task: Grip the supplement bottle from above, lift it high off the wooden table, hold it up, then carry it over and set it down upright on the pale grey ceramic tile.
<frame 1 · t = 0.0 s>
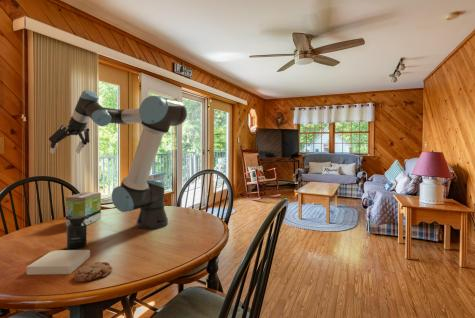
hand: (65, 152, 143), 36 cm above the table, tool tilted 35°, fingers open, 13 cm apart
ceramic tile: (60, 264, 91), on the table
tea box: (84, 222, 140), on the table
supplement bottle: (77, 247, 107), on the table
cookie: (93, 275, 85), on the table
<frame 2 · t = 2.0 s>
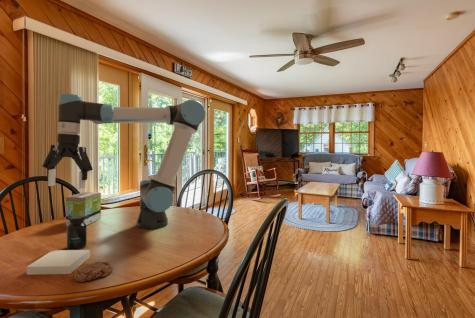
hand: (66, 187, 107), 24 cm above the table, tool pointing down, fingers open, 13 cm apart
nothing on the table moved.
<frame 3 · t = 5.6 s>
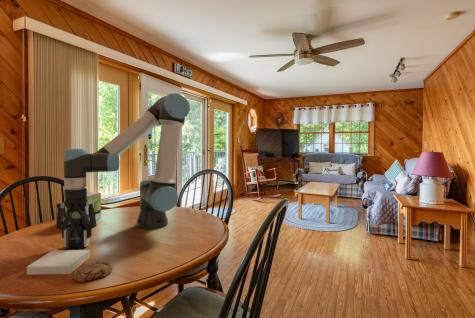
hand: (77, 245, 107), 1 cm above the table, tool pointing down, fingers closed on supplement bottle, 7 cm apart
supplement bottle: (77, 247, 107), on the table, touching gripper
everything else where it was.
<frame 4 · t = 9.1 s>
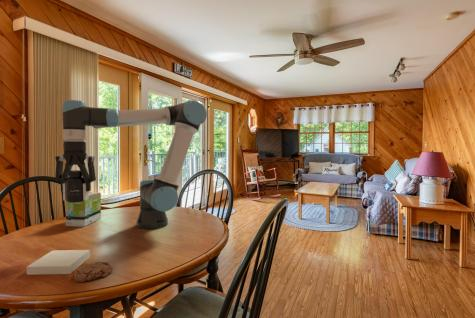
hand: (76, 199, 106), 19 cm above the table, tool pointing down, fingers closed on supplement bottle, 7 cm apart
supplement bottle: (76, 201, 106), point 18 cm above the table, touching gripper
everything else where it was.
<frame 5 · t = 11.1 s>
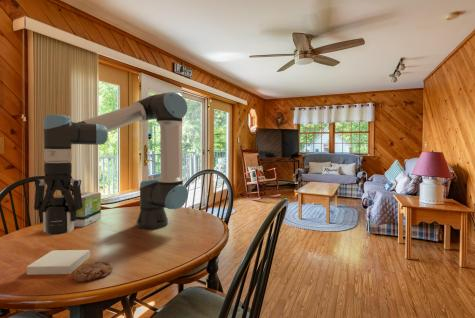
hand: (58, 230, 90), 12 cm above the table, tool pointing down, fingers closed on supplement bottle, 7 cm apart
supplement bottle: (59, 232, 90), point 11 cm above the table, touching gripper
everything else where it was.
when the fingers open (4 cm above the table, at t = 12.9 s): supplement bottle drops 1 cm, resting on ceramic tile.
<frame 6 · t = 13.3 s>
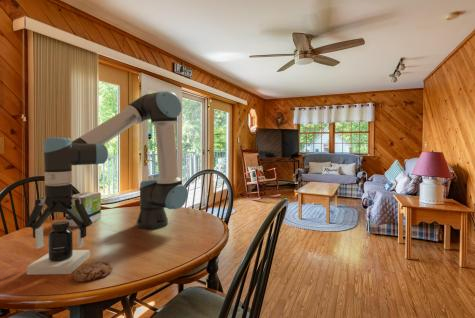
hand: (60, 247, 90), 6 cm above the table, tool pointing down, fingers open, 13 cm apart
supplement bottle: (61, 258, 91), point 2 cm above the table, touching ceramic tile
everything else where it was.
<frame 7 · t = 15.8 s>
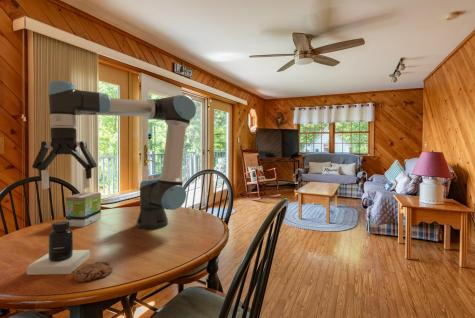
hand: (66, 188, 94), 25 cm above the table, tool pointing down, fingers open, 13 cm apart
nothing on the table moved.
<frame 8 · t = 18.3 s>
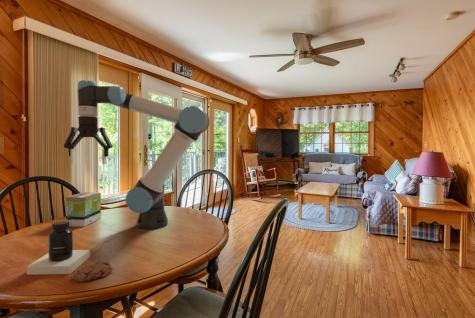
hand: (88, 163, 122), 32 cm above the table, tool pointing down, fingers open, 13 cm apart
nothing on the table moved.
at the end: supplement bottle inside the target area on the ceramic tile (0.2 cm from its centre), point 2.3 cm above the ceramic tile's base; supplement bottle tilted 0°; the gripper is holding nothing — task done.
